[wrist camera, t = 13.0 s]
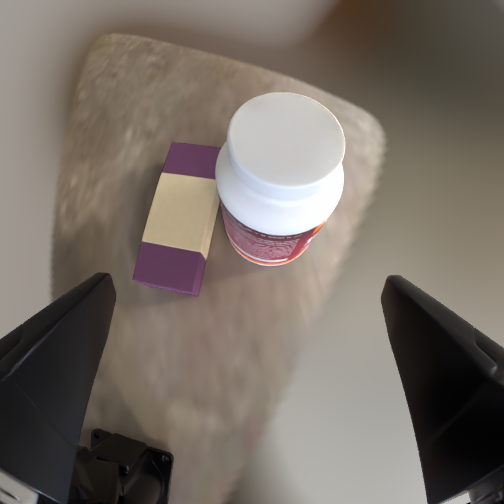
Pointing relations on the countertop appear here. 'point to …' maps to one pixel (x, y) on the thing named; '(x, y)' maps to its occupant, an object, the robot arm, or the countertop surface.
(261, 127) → the pill bottle
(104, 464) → the robot arm
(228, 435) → the countertop surface
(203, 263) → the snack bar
